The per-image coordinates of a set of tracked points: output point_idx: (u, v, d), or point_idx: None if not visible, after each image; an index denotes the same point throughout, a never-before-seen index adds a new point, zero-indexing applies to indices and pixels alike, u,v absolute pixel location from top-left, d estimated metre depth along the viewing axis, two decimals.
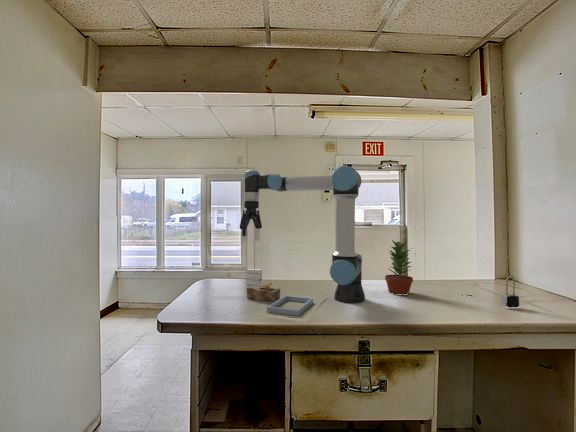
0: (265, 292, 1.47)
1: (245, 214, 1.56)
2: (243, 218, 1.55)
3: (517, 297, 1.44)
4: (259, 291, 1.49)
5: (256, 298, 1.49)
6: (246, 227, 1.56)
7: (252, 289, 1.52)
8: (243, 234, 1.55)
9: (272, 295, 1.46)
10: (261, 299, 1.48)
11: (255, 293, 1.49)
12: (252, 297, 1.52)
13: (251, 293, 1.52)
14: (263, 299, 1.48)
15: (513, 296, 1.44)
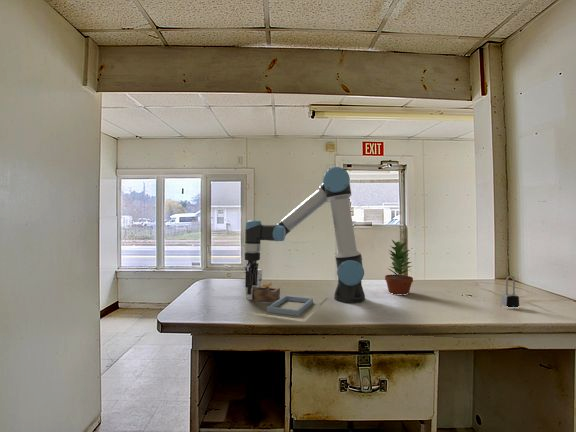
0: (266, 292, 1.47)
1: (248, 272, 1.47)
2: (247, 277, 1.48)
3: (517, 297, 1.44)
4: (260, 291, 1.48)
5: (256, 298, 1.49)
6: (251, 285, 1.50)
7: None
8: (248, 293, 1.50)
9: (273, 294, 1.47)
10: (262, 299, 1.48)
11: (255, 293, 1.49)
12: None
13: None
14: (264, 299, 1.48)
15: (513, 296, 1.44)
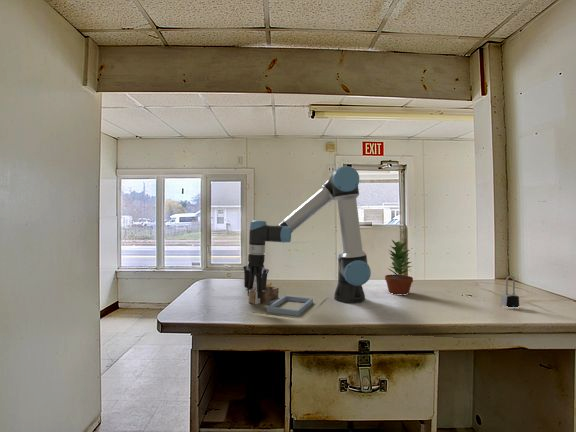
0: (273, 291, 1.50)
1: (266, 275, 1.42)
2: (264, 280, 1.42)
3: (517, 297, 1.44)
4: (268, 291, 1.48)
5: (266, 299, 1.47)
6: None
7: None
8: (260, 296, 1.43)
9: (277, 291, 1.53)
10: (270, 299, 1.49)
11: (266, 295, 1.46)
12: None
13: None
14: (271, 298, 1.50)
15: (513, 296, 1.44)
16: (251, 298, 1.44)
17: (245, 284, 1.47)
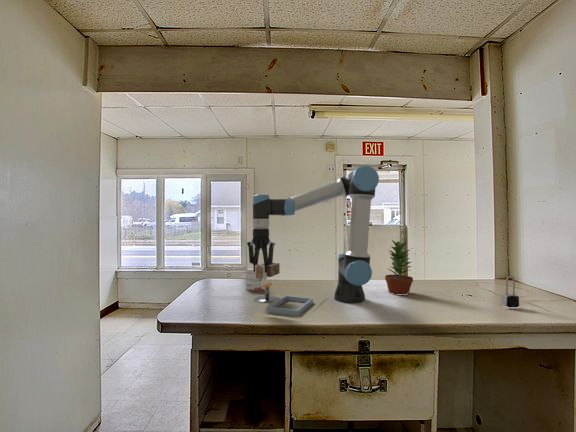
0: (276, 266, 1.51)
1: (272, 248, 1.42)
2: (271, 253, 1.42)
3: (517, 297, 1.44)
4: (273, 266, 1.48)
5: (272, 274, 1.47)
6: None
7: None
8: (267, 270, 1.43)
9: (278, 266, 1.54)
10: (274, 274, 1.49)
11: (271, 269, 1.46)
12: None
13: None
14: (275, 273, 1.50)
15: (513, 296, 1.44)
16: (258, 273, 1.42)
17: (250, 260, 1.44)
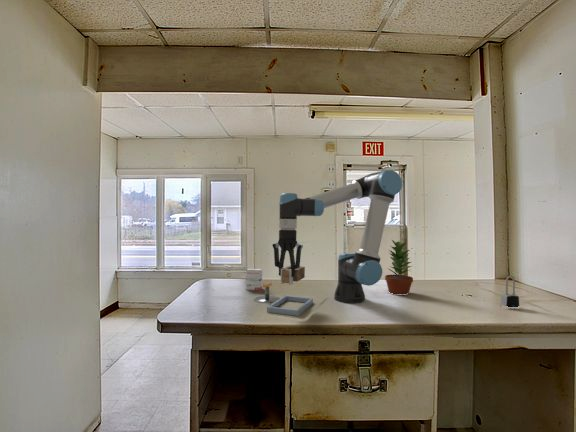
0: (301, 269, 1.41)
1: (300, 251, 1.33)
2: (299, 256, 1.32)
3: (517, 297, 1.44)
4: (299, 270, 1.38)
5: (298, 278, 1.37)
6: None
7: None
8: (294, 275, 1.33)
9: (304, 270, 1.45)
10: (300, 278, 1.39)
11: (297, 273, 1.36)
12: None
13: None
14: (300, 277, 1.40)
15: (513, 296, 1.44)
16: (284, 277, 1.32)
17: (275, 263, 1.35)
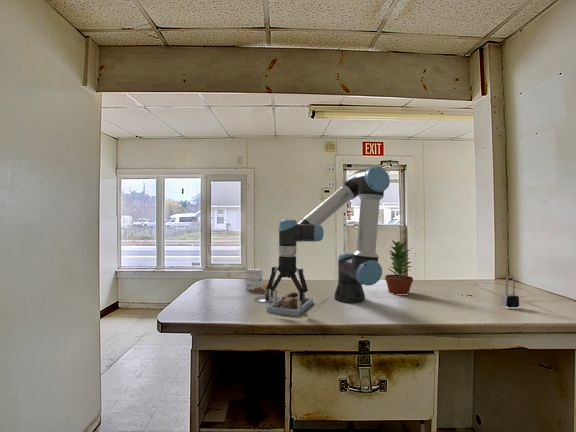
0: None
1: (302, 274, 1.32)
2: (303, 280, 1.31)
3: (517, 297, 1.44)
4: None
5: None
6: None
7: (291, 300, 1.35)
8: (302, 299, 1.32)
9: (304, 297, 1.45)
10: None
11: None
12: None
13: (290, 306, 1.34)
14: None
15: (513, 296, 1.44)
16: (284, 307, 1.32)
17: (268, 285, 1.36)
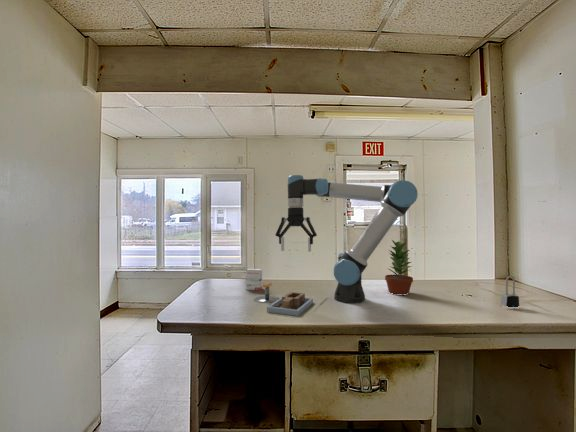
0: (301, 297, 1.41)
1: (310, 222, 1.50)
2: (312, 226, 1.49)
3: (517, 297, 1.44)
4: (299, 298, 1.38)
5: (298, 307, 1.37)
6: None
7: (291, 300, 1.35)
8: (312, 243, 1.49)
9: (304, 297, 1.45)
10: (300, 306, 1.39)
11: (297, 302, 1.36)
12: None
13: (290, 306, 1.34)
14: (300, 305, 1.40)
15: (513, 296, 1.44)
16: (284, 307, 1.32)
17: (277, 233, 1.53)
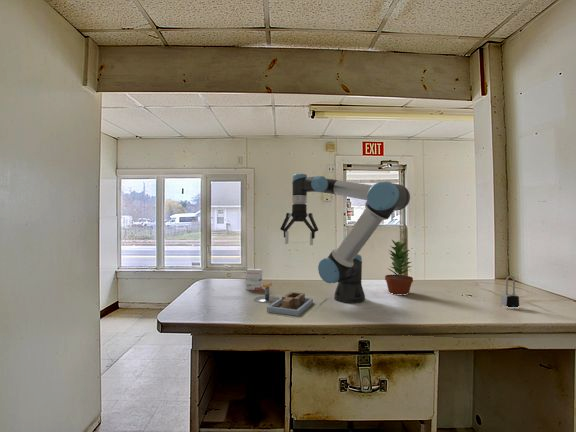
0: (301, 297, 1.41)
1: (312, 217, 1.61)
2: (314, 221, 1.60)
3: (517, 297, 1.44)
4: (299, 298, 1.38)
5: (298, 307, 1.37)
6: None
7: (291, 300, 1.35)
8: (314, 237, 1.60)
9: (304, 297, 1.45)
10: (300, 306, 1.39)
11: (297, 302, 1.36)
12: None
13: (290, 306, 1.34)
14: (300, 305, 1.40)
15: (513, 296, 1.44)
16: (284, 307, 1.32)
17: (282, 227, 1.66)
